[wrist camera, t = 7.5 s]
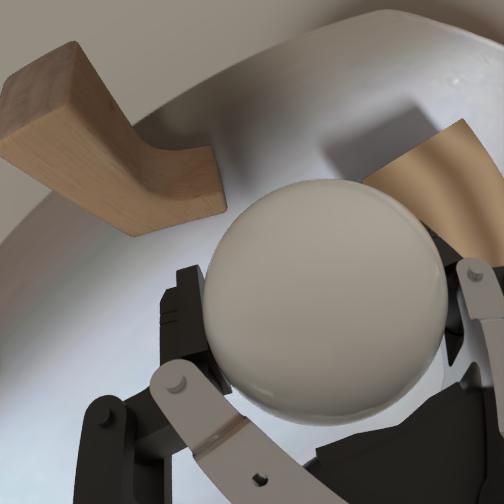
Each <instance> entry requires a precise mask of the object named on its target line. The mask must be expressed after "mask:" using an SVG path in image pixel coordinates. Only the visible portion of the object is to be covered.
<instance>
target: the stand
mask: <svg viewBox="0 0 504 504" xmlns="http://www.w3.org/2000/svg"><path fill="white" fill-rule="evenodd" d="M360 183H362V184H365V185H368V186H371V187H373V188H376V189H378V190H380V191H382V192H384V193H386V194H388V195H389V196H391V197H393V198H394V199H396V200H397V201H399V202H400V203H401V204H402V205H404V206H405V207H406V208H407V209H408V210H410V211H411V212H412V213H413V214H414V215H415V216H416V217H417V219H418V220H420V221H422V222H423V223H425V224H426V225H427V226H428V227H429V228H431V231H432V230H433V231H434V232H435V233H436V234H438V237H441V238H442V239H443V240H444V241H446V242H447V243H448V244H449V245H450V246H451V247H452V248H453V249H454V250H456V251H457V252H458V253H459V254H460V255H461V256H462V257H463V258H467V257H474V258H478V259H481V260H483V261H485V262H486V263H488V264H489V265H490V266H491V268H492V267H499V266H504V178H503V176H502V175H501V173H500V171H499V170H498V168H497V166H496V165H495V163H494V162H493V160H492V159H491V157H490V155H489V154H488V152H487V151H486V149H485V148H484V146H483V145H482V144H481V142H480V141H479V139H478V138H477V136H476V135H475V134H474V132H473V131H472V130H471V128H470V127H469V126H468V124H467V123H466V122H465V120H464V119H463V118H462V119H460V120H459V121H457V122H455V123H454V124H452V125H451V126H449V127H447V128H446V129H444V130H442V131H441V132H439V133H438V134H436V135H434V136H433V137H431V138H429V139H428V140H426V141H425V142H423V143H421V144H420V145H418V146H416V147H415V148H413V149H411V150H410V151H408V152H407V153H405V154H403V155H402V156H400V157H398V158H397V159H395V160H394V161H392V162H390V163H389V164H387V165H386V166H384V167H382V168H381V169H379V170H377V171H376V172H374V173H373V174H371V175H369V176H368V177H366V178H364V179H363V180H361V182H360Z"/></svg>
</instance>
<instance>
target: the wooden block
mask: <svg viewBox="0 0 504 504" xmlns="http://www.w3.org/2000/svg"><path fill="white" fill-rule="evenodd" d="M0 157H2V158H3V159H5V160H6V161H8V162H9V163H11V164H12V165H14V166H15V167H17V168H18V169H20V170H22V171H23V172H25V173H26V174H28V175H29V176H31V177H33V178H34V179H36V180H37V181H39V182H40V183H42V184H44V185H45V186H47V187H49V188H50V189H52V190H53V191H55V192H56V193H58V194H60V195H61V196H63V197H65V198H66V199H68V200H70V201H71V202H73V203H74V204H76V205H78V206H79V207H81V208H83V209H84V210H86V211H88V212H89V213H91V214H93V215H95V216H96V217H98V218H100V219H101V220H103V221H105V222H106V223H108V224H110V225H112V226H113V227H115V228H117V229H118V230H120V231H122V232H124V233H125V234H127V235H129V236H131V237H135V236H139V235H142V234H146V233H150V232H153V231H157V230H160V229H164V228H168V227H171V226H175V225H179V224H182V223H186V222H190V221H194V220H197V219H201V218H205V217H209V216H213V215H217V214H221V213H224V212H225V211H227V203H226V199H225V195H224V191H223V186H222V182H221V178H220V174H219V170H218V166H217V162H216V159H215V155H214V151H213V148H212V147H211V146H207V145H206V146H200V147H195V148H189V149H184V150H178V151H173V150H166V149H159V148H153V147H152V146H151V145H149V144H148V143H146V142H145V141H144V140H142V139H141V138H139V136H138V135H137V133H136V132H135V130H134V129H133V127H132V126H131V124H130V123H129V121H128V120H127V118H126V117H125V115H124V114H123V112H122V111H121V109H120V108H119V106H118V104H117V103H116V102H115V100H114V98H113V97H112V95H111V94H110V92H109V91H108V89H107V88H106V86H105V84H104V83H103V81H102V80H101V78H100V77H99V75H98V74H97V72H96V70H95V69H94V67H93V66H92V64H91V63H90V61H89V60H88V58H87V56H86V55H85V53H84V52H83V50H82V48H81V47H80V45H79V44H78V43H77V42H76V41H71V42H68V43H66V44H65V45H62V46H60V47H59V48H57V49H55V50H53V51H51V52H50V53H47V54H45V55H44V56H42V57H40V58H39V59H37V60H35V61H33V62H32V63H30V64H28V65H27V66H25V67H23V68H22V69H20V70H19V71H17V72H15V73H14V74H12V75H11V76H9V77H8V78H7V80H6V81H5V83H4V85H3V88H2V92H1V96H0Z"/></svg>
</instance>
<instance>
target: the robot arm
mask: <svg viewBox="0 0 504 504" xmlns="http://www.w3.org/2000/svg"><path fill="white" fill-rule="evenodd" d="M419 221H420V220H419ZM420 222H421V223H422V225H423V226H424V227H425V229H426V230H427V232H428V233H429V235H430V236H431V238H432V240H433V241H434V243H435V245H436V247H437V249H438V252H439V254H440V257H441V260H442V263H443V266H444V269H445V274H446V279H447V285H448V315H447V322H446V327H445V331H444V335H443V338H442V341H441V350H442V359H443V369H444V377H443V382H442V386H441V391H440V392H439V393H437V394H435V395H434V396H432V397H430V398H428V399H427V400H426V401H425V402H424V403H423V404H422V405H421V406H420V407H419V408H418V409H417V410H415V411H414V412H413V413H412V414H411V415H410V416H409V417H408V418H406V419H405V420H404V421H403V422H402V423H400V424H399V425H397V426H393V427H388V428H384V429H379V430H374V431H368V432H363V433H357V434H354V435H351V436H349V437H346V438H343V439H341V440H338V441H336V442H333V443H330V444H327V445H325V446H322V447H319V448H316V457H315V458H313V459H311V460H310V461H308V462H307V463H306V464H304V465H303V466H301V465H299V464H298V463H297V462H296V461H295V460H294V459H292V458H291V457H290V456H289V455H288V454H287V453H286V452H285V451H283V450H282V449H281V448H280V447H279V446H278V445H277V444H276V443H275V442H273V441H272V440H271V439H270V438H269V437H268V436H267V435H266V434H265V433H264V432H263V431H262V430H261V429H260V428H259V427H257V426H256V425H255V424H254V423H253V422H252V421H251V420H250V419H249V418H247V417H246V416H243V415H242V414H240V413H239V412H238V411H237V410H236V409H235V408H234V407H233V406H232V405H231V404H230V403H229V401H228V400H227V399H226V398H225V397H224V395H227V394H230V393H232V389H231V384H230V383H229V381H228V380H227V379H226V377H225V376H224V375H223V373H222V372H221V370H220V368H219V367H218V365H217V363H216V361H215V359H214V357H213V355H212V352H211V350H210V347H209V344H208V341H207V338H206V334H205V329H204V323H203V313H202V298H203V288H204V282H205V279H204V277H203V274H202V272H201V269H200V267H199V265H198V264H197V265H194V266H190V267H187V268H184V269H180V270H177V271H176V282H177V287H173V288H170V289H166V291H165V293H164V295H163V297H162V299H161V301H160V367H159V368H158V369H157V370H156V371H155V372H154V374H153V376H152V378H151V381H150V386H149V387H147V388H146V389H145V390H143V391H142V392H140V393H138V394H136V395H134V396H132V397H130V398H128V399H126V400H125V401H122V400H121V399H119V398H118V397H116V396H113V395H104V396H101V397H99V398H97V399H95V400H94V401H93V402H92V403H91V404H90V405H89V407H88V408H87V410H86V412H85V415H84V420H83V426H82V432H81V438H80V445H79V451H78V459H77V467H76V475H75V485H74V496H73V504H172V455H173V454H175V453H177V452H179V451H180V450H182V449H184V448H186V447H189V449H190V450H191V451H192V453H193V455H192V456H193V458H194V460H195V461H196V463H197V464H198V465H199V467H200V468H201V469H202V470H203V472H204V473H205V474H206V475H207V476H208V478H209V479H210V480H211V481H212V482H213V483H214V485H215V486H216V487H217V488H218V489H219V490H220V491H221V493H222V494H223V495H224V496H225V497H226V498H227V499H228V500H229V501H230V502H231V504H504V266H499V267H492V268H491V266H490V265H489V264H488V263H486V262H485V261H483V260H481V259H478V258H474V257H467V258H463V257H462V256H461V255H460V254H459V253H458V252H457V251H456V250H454V249H453V248H452V247H451V246H450V245H449V244H448V243H447V242H446V241H444V240H443V239H442V238H441V237H438V234H436V233H435V232H434V231H433V230H432V231H431V228H429V227H428V226H427V225H426V224H425V223H423V222H422V221H420Z"/></svg>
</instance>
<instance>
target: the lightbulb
mask: <svg viewBox="0 0 504 504" xmlns="http://www.w3.org/2000/svg"><path fill="white" fill-rule="evenodd" d="M202 313H203V323H204V329H205V334H206V338H207V341H208V344H209V347H210V350H211V352H212V355H213V357H214V359H215V361H216V363H217V365H218V367H219V368H220V370H221V372H222V373H223V375H224V376H225V377H226V379H227V380H228V381H229V383H230V384H231V385H232V386H233V387H234V388H235V389H236V390H237V391H238V392H239V393H240V394H241V395H242V396H243V397H244V398H245V399H247V400H248V401H249V402H250V403H252V404H253V405H255V406H256V407H258V408H259V409H261V410H263V411H264V412H266V413H268V414H270V415H272V416H275V417H277V418H279V419H282V420H285V421H288V422H292V423H296V424H300V425H307V426H319V427H327V426H339V425H346V424H350V423H354V422H358V421H361V420H364V419H367V418H369V417H372V416H374V415H376V414H378V413H380V412H382V411H384V410H386V409H387V408H389V407H391V406H392V405H393V404H395V403H396V402H398V401H399V400H400V399H401V398H403V397H404V396H405V395H406V394H407V393H408V392H409V391H410V390H411V389H412V388H413V387H414V386H415V385H416V384H417V383H418V382H419V381H420V379H421V378H422V377H423V375H424V374H425V373H426V371H427V370H428V368H429V367H430V365H431V363H432V361H433V360H434V358H435V356H436V354H437V351H438V349H439V347H440V344H441V341H442V338H443V335H444V331H445V327H446V322H447V315H448V285H447V279H446V274H445V269H444V266H443V263H442V260H441V257H440V254H439V252H438V249H437V247H436V245H435V243H434V241H433V240H432V238H431V236H430V235H429V233H428V232H427V230H426V229H425V227H424V226H423V225H422V223H421V222H420V221H419V220H418V219H417V217H416V216H415V215H414V214H413V213H412V212H411V211H410V210H408V209H407V208H406V207H405V206H404V205H402V204H401V203H400V202H399V201H397V200H396V199H394V198H393V197H391V196H389V195H388V194H386V193H384V192H382V191H380V190H378V189H376V188H373V187H371V186H368V185H365V184H362V183H358V182H354V181H349V180H342V179H313V180H306V181H301V182H297V183H293V184H290V185H287V186H284V187H282V188H279V189H277V190H275V191H273V192H271V193H269V194H267V195H265V196H264V197H262V198H260V199H259V200H257V201H256V202H255V203H253V204H252V205H251V206H249V207H248V208H247V209H246V210H245V211H244V212H243V213H241V214H240V215H239V217H238V218H237V219H236V220H235V221H234V222H233V223H232V224H231V226H230V227H229V228H228V229H227V231H226V232H225V234H224V235H223V237H222V238H221V240H220V242H219V243H218V245H217V247H216V249H215V251H214V253H213V256H212V258H211V261H210V263H209V266H208V269H207V273H206V277H205V282H204V288H203V298H202Z"/></svg>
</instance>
